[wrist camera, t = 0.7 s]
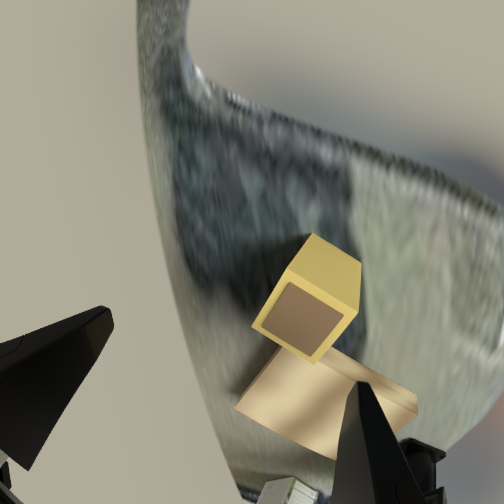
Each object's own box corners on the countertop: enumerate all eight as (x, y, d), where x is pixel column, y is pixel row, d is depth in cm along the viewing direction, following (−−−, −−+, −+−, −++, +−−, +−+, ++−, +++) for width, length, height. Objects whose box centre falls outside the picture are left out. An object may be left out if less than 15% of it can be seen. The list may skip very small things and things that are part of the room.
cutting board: (416, 394, 20) (417, 415, 18) (348, 446, 24) (344, 464, 22) (294, 324, 22) (286, 342, 20) (244, 391, 27) (233, 407, 24)
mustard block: (361, 263, 19) (358, 314, 13) (331, 306, 21) (313, 367, 14) (312, 232, 20) (285, 269, 13) (285, 278, 22) (249, 328, 15)
